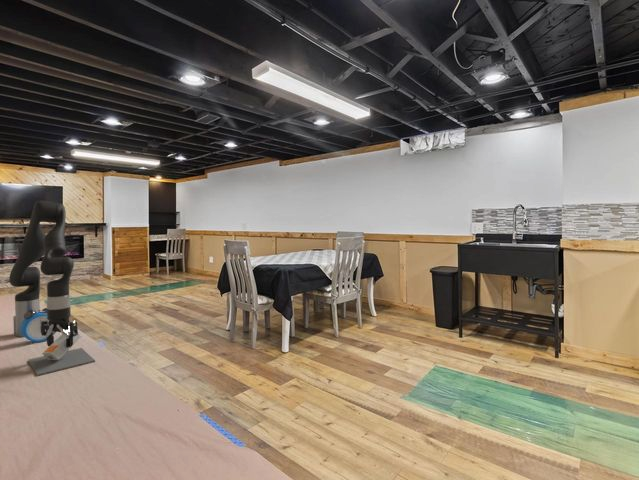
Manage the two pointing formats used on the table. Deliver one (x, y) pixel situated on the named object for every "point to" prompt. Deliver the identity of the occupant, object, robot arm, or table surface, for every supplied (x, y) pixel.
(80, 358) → the rubber mat
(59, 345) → the skincare box
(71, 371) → the table surface
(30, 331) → the alarm clock
